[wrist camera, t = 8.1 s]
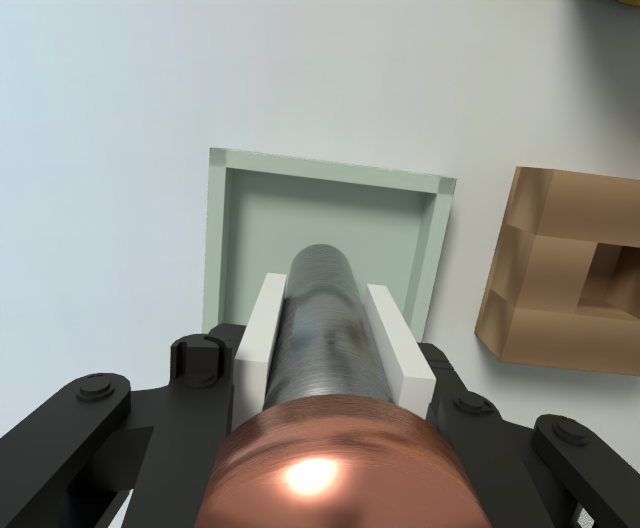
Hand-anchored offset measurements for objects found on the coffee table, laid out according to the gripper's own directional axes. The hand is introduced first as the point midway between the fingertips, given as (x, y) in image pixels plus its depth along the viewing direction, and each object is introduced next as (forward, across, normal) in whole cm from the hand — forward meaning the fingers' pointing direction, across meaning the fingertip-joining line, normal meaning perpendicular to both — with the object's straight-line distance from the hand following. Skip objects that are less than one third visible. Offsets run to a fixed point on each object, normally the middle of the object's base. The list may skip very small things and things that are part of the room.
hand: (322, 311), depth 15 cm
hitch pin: (+5, 0, 0) cm, 5 cm away
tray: (+7, 0, 0) cm, 7 cm away
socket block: (+7, +15, +2) cm, 17 cm away
